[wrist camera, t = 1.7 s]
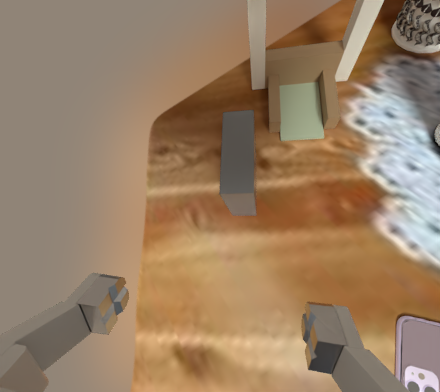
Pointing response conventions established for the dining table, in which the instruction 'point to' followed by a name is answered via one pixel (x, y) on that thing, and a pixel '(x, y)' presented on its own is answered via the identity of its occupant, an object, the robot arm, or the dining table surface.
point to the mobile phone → (418, 354)
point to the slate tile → (238, 163)
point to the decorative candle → (418, 26)
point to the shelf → (305, 73)
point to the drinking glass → (437, 134)
